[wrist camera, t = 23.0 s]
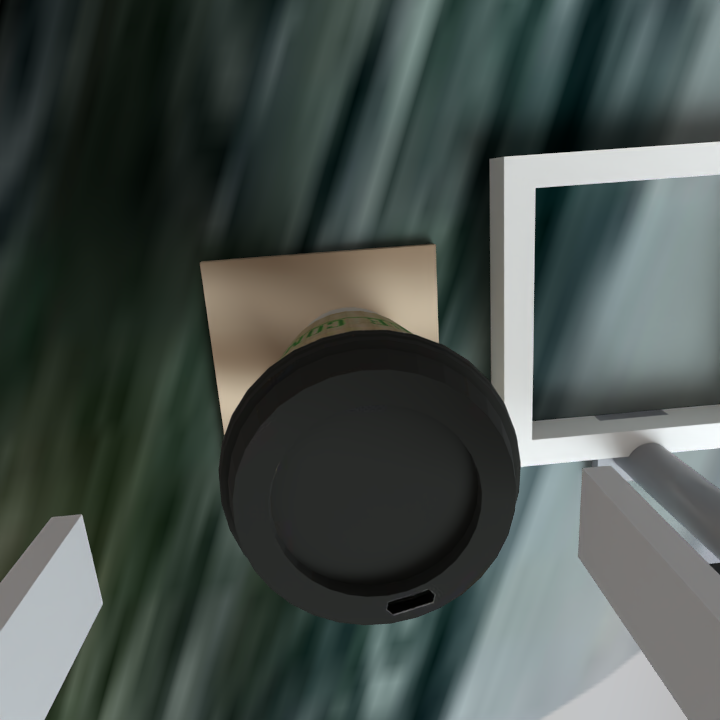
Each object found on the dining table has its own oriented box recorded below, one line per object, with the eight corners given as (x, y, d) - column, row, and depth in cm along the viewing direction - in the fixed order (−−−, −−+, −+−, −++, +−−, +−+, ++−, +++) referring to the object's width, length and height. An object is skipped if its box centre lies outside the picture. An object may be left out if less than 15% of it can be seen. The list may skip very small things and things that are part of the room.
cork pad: (201, 261, 31) (199, 262, 30) (433, 243, 31) (435, 244, 31) (231, 472, 34) (230, 477, 34) (440, 453, 35) (442, 458, 34)
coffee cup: (411, 246, 31) (495, 297, 16) (461, 416, 33) (569, 587, 19) (230, 306, 31) (153, 409, 17) (294, 470, 34) (276, 681, 19)
